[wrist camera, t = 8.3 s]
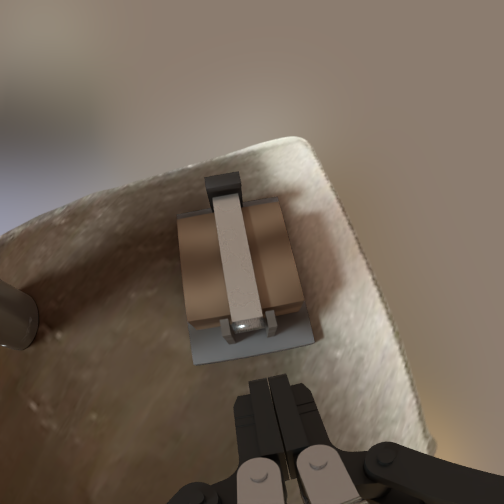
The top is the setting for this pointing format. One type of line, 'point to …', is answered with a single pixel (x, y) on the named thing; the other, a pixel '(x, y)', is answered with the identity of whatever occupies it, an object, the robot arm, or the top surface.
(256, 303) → the strap
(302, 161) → the top surface
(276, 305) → the latch block
